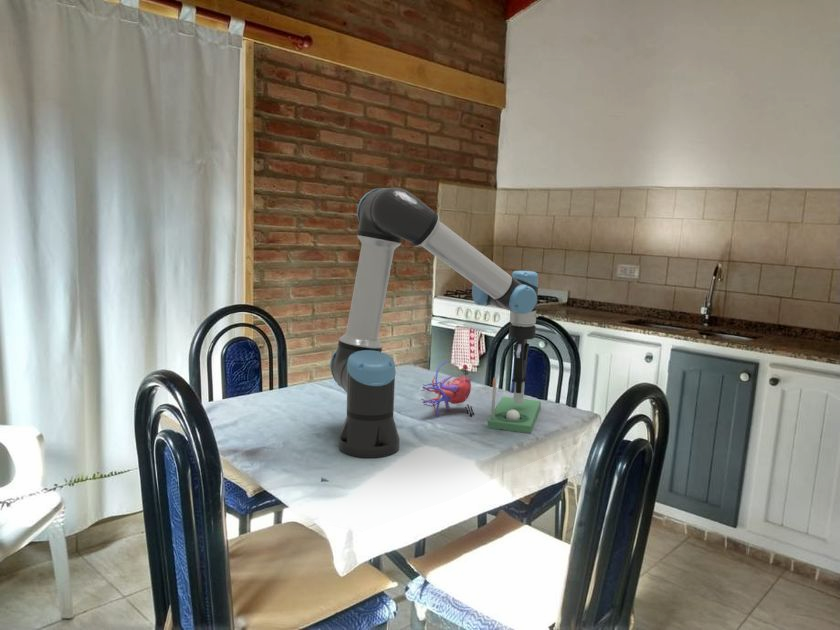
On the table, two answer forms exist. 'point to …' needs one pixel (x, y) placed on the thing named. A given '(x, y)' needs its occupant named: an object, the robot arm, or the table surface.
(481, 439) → the table surface
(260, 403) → the table surface
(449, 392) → the heart model
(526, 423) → the green
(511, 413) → the ball
